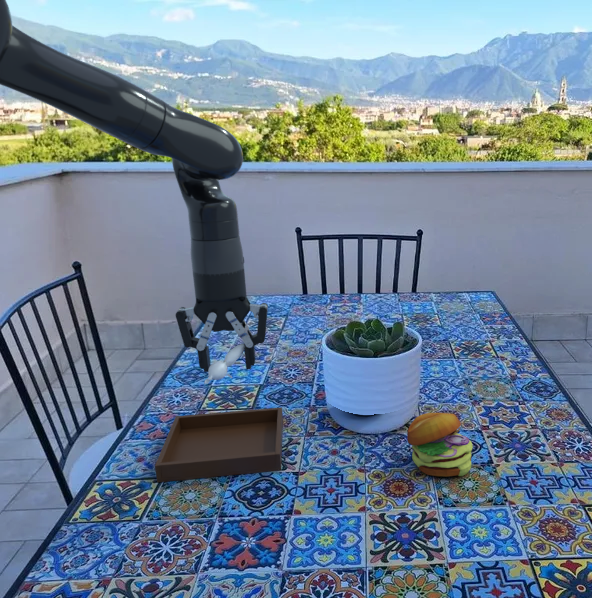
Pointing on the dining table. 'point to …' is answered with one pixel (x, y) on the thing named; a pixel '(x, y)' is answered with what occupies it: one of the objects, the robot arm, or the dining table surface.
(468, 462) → the cheeseburger
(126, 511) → the dining table surface
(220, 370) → the rabbit figurine
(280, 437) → the tray
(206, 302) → the robot arm
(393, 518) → the dining table surface
